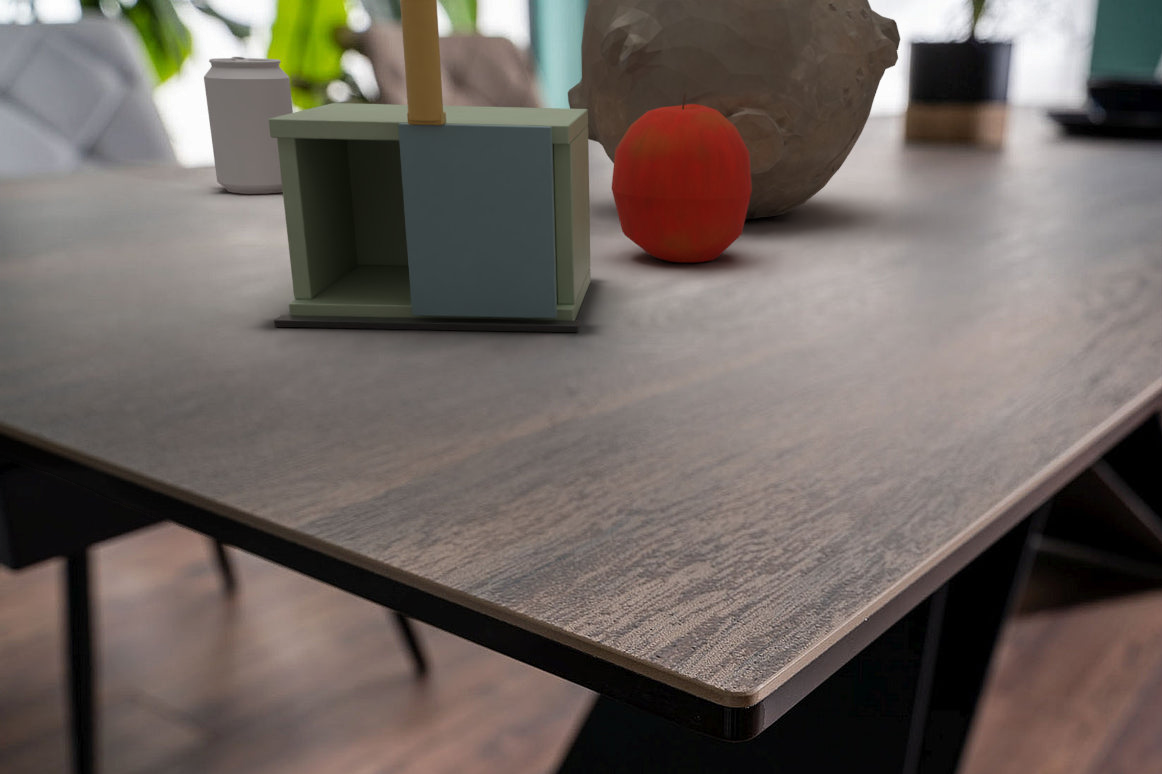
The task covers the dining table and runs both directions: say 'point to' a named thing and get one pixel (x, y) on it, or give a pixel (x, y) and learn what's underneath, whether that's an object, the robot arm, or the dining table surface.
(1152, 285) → the dining table surface
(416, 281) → the door
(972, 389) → the dining table surface
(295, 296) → the cabinet
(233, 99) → the can
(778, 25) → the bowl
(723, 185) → the apple
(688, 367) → the dining table surface
